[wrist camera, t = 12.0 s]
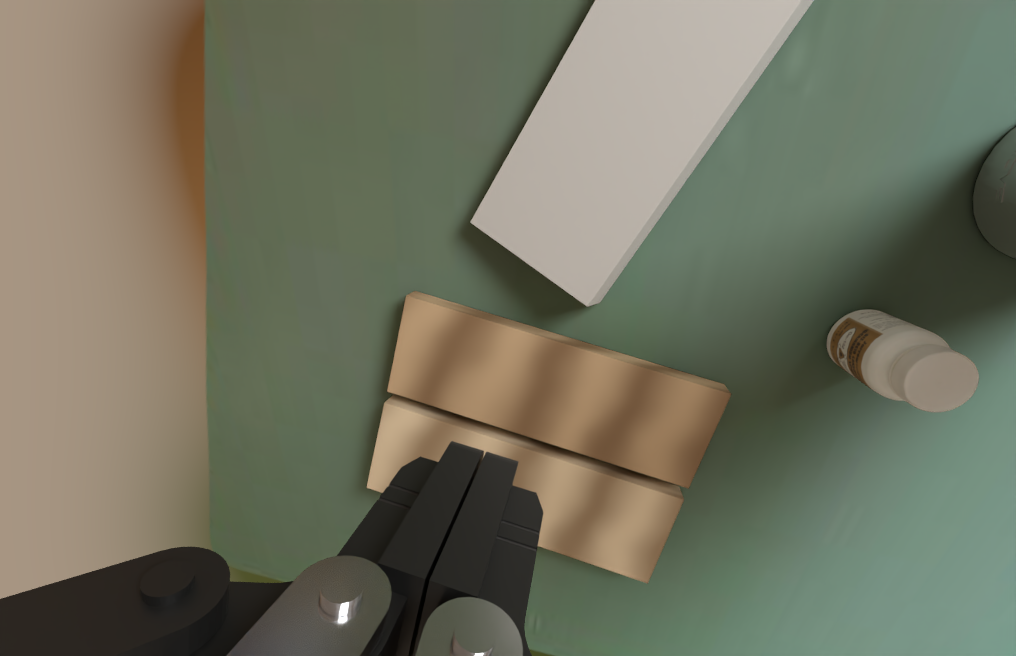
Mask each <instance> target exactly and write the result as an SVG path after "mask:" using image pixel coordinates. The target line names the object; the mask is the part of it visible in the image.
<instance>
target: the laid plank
mask: <svg viewBox="0 0 1016 656" xmlns="http://www.w3.org/2000/svg"><path fill="white" fill-rule="evenodd" d="M387 392H391V393H394V394H397V395H400V396H403V397H406V398H409V399H412V400H415V401H418V402H422V403H425V404H428V405H431V406H434V407H437V408H440V409H443V410H446V411H449V412H453V413H456V414H459V415H462V416H465V417H468V418H471V419H474V420H477V421H481V422H484V423H487V424H490V425H493V426H496V427H499V428H502V429H505V430H508V431H512V432H515V433H518V434H521V435H524V436H527V437H530V438H533V439H536V440H540V441H543V442H546V443H549V444H552V445H555V446H558V447H561V448H564V449H567V450H571V451H574V452H577V453H580V454H583V455H586V456H589V457H592V458H595V459H599V460H602V461H605V462H608V463H611V464H614V465H617V466H620V467H623V468H626V469H630V470H633V471H636V472H639V473H642V474H645V475H648V476H651V477H654V478H658V479H661V480H664V481H667V482H670V483H673V484H676V485H679V486H682V487H685V488H689V486H690V484H691V482H692V480H693V478H694V475H695V473H696V471H697V469H698V467H699V464H700V462H701V460H702V458H703V456H704V453H705V451H706V449H707V447H708V445H709V442H710V440H711V438H712V436H713V434H714V431H715V429H716V427H717V425H718V423H719V420H720V418H721V416H722V414H723V412H724V409H725V407H726V405H727V403H728V401H729V398H730V396H731V393H730V392H729V390H728V389H727V387H726V386H725V385H724V384H722V383H718V382H715V381H712V380H708V379H705V378H702V377H698V376H695V375H692V374H689V373H685V372H682V371H679V370H675V369H672V368H669V367H665V366H662V365H659V364H655V363H652V362H649V361H645V360H642V359H639V358H636V357H632V356H629V355H626V354H622V353H619V352H616V351H612V350H609V349H606V348H602V347H599V346H596V345H592V344H589V343H586V342H583V341H579V340H576V339H573V338H569V337H566V336H563V335H559V334H556V333H553V332H549V331H546V330H543V329H540V328H536V327H533V326H530V325H526V324H523V323H520V322H516V321H513V320H510V319H506V318H503V317H500V316H496V315H493V314H490V313H487V312H483V311H480V310H477V309H473V308H470V307H467V306H463V305H460V304H457V303H453V302H450V301H447V300H444V299H440V298H437V297H434V296H430V295H427V294H424V293H420V292H417V291H414V292H412V293H410V294H408V295H407V296H406V299H405V304H404V310H403V315H402V320H401V325H400V330H399V335H398V340H397V345H396V350H395V355H394V360H393V365H392V370H391V375H390V380H389V385H388V390H387Z"/></svg>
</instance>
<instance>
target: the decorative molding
mask: <svg viewBox="0 0 1016 656" xmlns="http://www.w3.org/2000/svg"><path fill="white" fill-rule="evenodd" d="M813 1H814V0H595V2H594V4H593V5H592V7H591V9H590V11H589V12H588V14H587V16H586V18H585V19H584V21H583V23H582V25H581V27H580V28H579V30H578V32H577V34H576V35H575V37H574V39H573V41H572V43H571V44H570V46H569V48H568V50H567V51H566V53H565V55H564V57H563V59H562V60H561V62H560V64H559V66H558V67H557V69H556V71H555V73H554V75H553V76H552V78H551V80H550V82H549V83H548V85H547V87H546V89H545V90H544V92H543V94H542V96H541V98H540V99H539V101H538V103H537V105H536V106H535V108H534V110H533V112H532V114H531V115H530V117H529V119H528V121H527V122H526V124H525V126H524V128H523V130H522V131H521V133H520V135H519V137H518V138H517V140H516V142H515V144H514V145H513V147H512V149H511V151H510V153H509V154H508V156H507V158H506V160H505V161H504V163H503V165H502V167H501V169H500V170H499V172H498V174H497V176H496V177H495V179H494V181H493V183H492V185H491V186H490V188H489V190H488V192H487V193H486V195H485V197H484V199H483V200H482V202H481V204H480V206H479V208H478V209H477V211H476V213H475V215H474V216H473V218H472V220H471V222H470V223H472V224H473V225H474V226H476V227H477V228H479V229H480V230H481V231H483V232H484V233H486V234H487V235H488V236H490V237H491V238H493V239H494V240H495V241H497V242H498V243H499V244H501V245H502V246H504V247H505V248H506V249H508V250H509V251H511V252H512V253H513V254H515V255H516V256H518V257H519V258H520V259H522V260H523V261H525V262H526V263H527V264H529V265H530V266H531V267H533V268H534V269H536V270H537V271H538V272H540V273H541V274H543V275H544V276H545V277H547V278H548V279H550V280H551V281H552V282H554V283H555V284H556V285H558V286H559V287H561V288H562V289H563V290H565V291H566V292H568V293H569V294H570V295H572V296H573V297H575V298H576V299H577V300H579V301H580V302H582V303H583V304H584V305H586V306H587V307H588V306H591V305H594V304H597V303H600V302H601V300H602V299H603V297H604V296H605V295H606V293H607V292H608V290H609V289H610V288H611V286H612V285H613V283H614V282H615V281H616V279H617V278H618V276H619V275H620V273H621V272H622V271H623V269H624V268H625V266H626V265H627V264H628V262H629V261H630V259H631V258H632V256H633V255H634V254H635V252H636V251H637V249H638V248H639V247H640V245H641V244H642V242H643V241H644V240H645V238H646V237H647V235H648V234H649V232H650V231H651V230H652V228H653V227H654V225H655V224H656V223H657V221H658V220H659V218H660V217H661V216H662V214H663V213H664V211H665V210H666V208H667V207H668V206H669V204H670V203H671V201H672V200H673V199H674V197H675V196H676V194H677V193H678V191H679V190H680V189H681V187H682V186H683V184H684V183H685V182H686V180H687V179H688V177H689V176H690V175H691V173H692V172H693V170H694V169H695V167H696V166H697V165H698V163H699V162H700V160H701V159H702V158H703V156H704V155H705V153H706V152H707V150H708V149H709V148H710V146H711V145H712V143H713V142H714V141H715V139H716V138H717V136H718V135H719V134H720V132H721V131H722V129H723V128H724V126H725V125H726V124H727V122H728V121H729V119H730V118H731V117H732V115H733V114H734V112H735V111H736V110H737V108H738V107H739V105H740V104H741V102H742V101H743V100H744V98H745V97H746V95H747V94H748V93H749V91H750V90H751V88H752V87H753V85H754V84H755V83H756V81H757V80H758V78H759V77H760V76H761V74H762V73H763V71H764V70H765V69H766V67H767V66H768V64H769V63H770V61H771V60H772V59H773V57H774V56H775V54H776V53H777V52H778V50H779V49H780V47H781V46H782V44H783V43H784V42H785V40H786V39H787V37H788V36H789V35H790V33H791V32H792V30H793V29H794V28H795V26H796V25H797V23H798V22H799V20H800V19H801V18H802V16H803V15H804V13H805V12H806V11H807V9H808V8H809V6H810V5H811V4H812V2H813Z"/></svg>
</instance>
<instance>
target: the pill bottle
mask: <svg viewBox="0 0 1016 656" xmlns="http://www.w3.org/2000/svg"><path fill="white" fill-rule="evenodd" d="M827 350H828V353H829V356H830V357H831V359H832V360H833V361H834V362H835V363H836V364H837V365H838V366H840V367H841V368H842V369H844V370H845V371H847V372H848V373H850V374H851V375H852V376H854V377H855V378H857V379H858V380H859V381H861V382H862V383H864V384H865V385H866V386H868V387H869V388H871V389H872V390H874V391H875V392H877V393H878V394H880V395H882V396H884V397H886V398H889V399H893V400H898V401H906V402H908V403H909V404H911V405H913V406H914V407H916V408H918V409H921V410H924V411H928V412H944V411H949V410H952V409H954V408H957V407H959V406H960V405H962V404H963V403H965V402H966V401H967V400H968V399H970V397H971V396H972V395H973V394H974V392H975V390H976V388H977V385H978V380H979V375H978V370H977V368H976V366H975V364H974V363H973V362H972V361H971V360H970V359H969V358H967V357H966V356H964V355H962V354H960V353H958V352H956V351H954V350H952V349H951V348H950V347H949V345H948V344H947V343H946V342H945V340H943V339H942V338H941V337H940V336H938V335H936V334H935V333H933V332H930V331H928V330H926V329H923V328H921V327H918V326H916V325H913V324H911V323H908V322H906V321H904V320H901V319H899V318H896V317H894V316H891V315H889V314H886V313H884V312H881V311H878V310H872V309H865V310H858V311H854V312H852V313H849V314H847V315H845V316H844V317H842V318H841V319H839V320H838V321H837V322H836V323H835V324H834V326H833V327H832V328H831V330H830V332H829V334H828V337H827Z"/></svg>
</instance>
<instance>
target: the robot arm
mask: <svg viewBox="0 0 1016 656" xmlns="http://www.w3.org/2000/svg"><path fill="white" fill-rule="evenodd" d="M973 211H974V216H975V219H976V222H977V226H978V228H979V230H980V231H981V233H982V234H983V236H984V237H985V239H986V240H987V241H988V242H989V243H990V244H991V245H992V246H993V247H995V248H996V249H997V250H998V251H1000V252H1002V253H1004V254H1006V255H1008V256H1010V257H1012V258H1016V127H1015V128H1014V129H1012V130H1011V131H1010V132H1009V133H1008V134H1007V135H1006V136H1005V137H1004V138H1003V139H1002V140H1001V141H1000V142H999V143H998V144H997V145H996V146H995V147H994V149H993V150H992V152H991V153H990V155H989V156H988V158H987V159H986V161H985V162H984V164H983V166H982V168H981V171H980V173H979V175H978V178H977V180H976V184H975V189H974V195H973ZM483 456H484V457H483ZM518 463H519V461H516V460H513V459H509V458H506V457H503V456H500V455H496V454H493V453H490V452H486V453H485V455H484V451H483V450H480V449H476V448H473V447H470V446H467V445H463V444H460V443H457V442H454V441H451V442H450V444H449V445H448V447H447V449H446V450H445V452H444V454H443V455H442V457H441V459H440V460H439V462H436V461H433V460H430V459H427V458H424V457H421V456H420V457H419V458H417V459H415V460H413V461H411V462H410V463H408V464H406V465H404V466H402V467H401V468H400V470H399V471H398V472H397V474H396V475H395V477H394V478H393V479H392V481H391V482H390V484H389V486H387V488H386V489H385V490H384V492H383V493H382V494H381V496H380V498H379V500H377V501H376V503H375V504H374V505H373V507H372V508H371V510H370V511H369V512H368V514H367V515H366V517H365V518H364V519H363V521H362V522H361V523H360V525H359V526H358V528H357V529H356V530H355V532H354V533H353V534H352V536H351V537H350V539H349V540H348V541H347V543H346V544H345V545H344V547H343V548H342V550H341V551H340V552H339V554H338V555H337V556H335V557H330V558H327V559H324V560H321V561H319V562H317V563H315V564H313V565H311V566H310V567H308V568H307V569H306V570H304V571H303V572H302V573H301V574H300V575H299V576H298V577H297V578H296V579H295V580H294V581H291V582H284V583H253V582H252V583H251V582H230V571H229V567H228V565H227V563H226V561H225V560H224V559H223V558H222V557H221V556H220V555H219V554H217V553H216V552H213V551H211V550H208V549H204V548H199V547H179V548H171V549H168V550H163V551H159V552H156V553H153V554H149V555H146V556H143V557H139V558H136V559H133V560H129V561H126V562H122V563H119V564H116V565H112V566H109V567H106V568H103V569H99V570H96V571H92V572H89V573H86V574H83V575H79V576H76V577H73V578H69V579H66V580H62V581H59V582H56V583H53V584H49V585H46V586H42V587H39V588H36V589H32V590H29V591H25V592H22V593H19V594H16V595H12V596H9V597H6V598H2V599H0V656H532V655H531V653H530V651H529V648H528V645H527V642H526V638H525V630H524V623H525V615H526V610H527V604H528V598H529V593H530V587H531V581H532V575H533V570H534V564H535V558H536V551H537V547H538V541H539V534H540V530H541V524H542V518H543V509H542V507H541V504H540V501H539V498H538V496H537V493H536V492H532V491H529V490H526V489H523V488H520V487H516V486H513V481H514V478H515V474H516V470H517V467H518Z"/></svg>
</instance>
